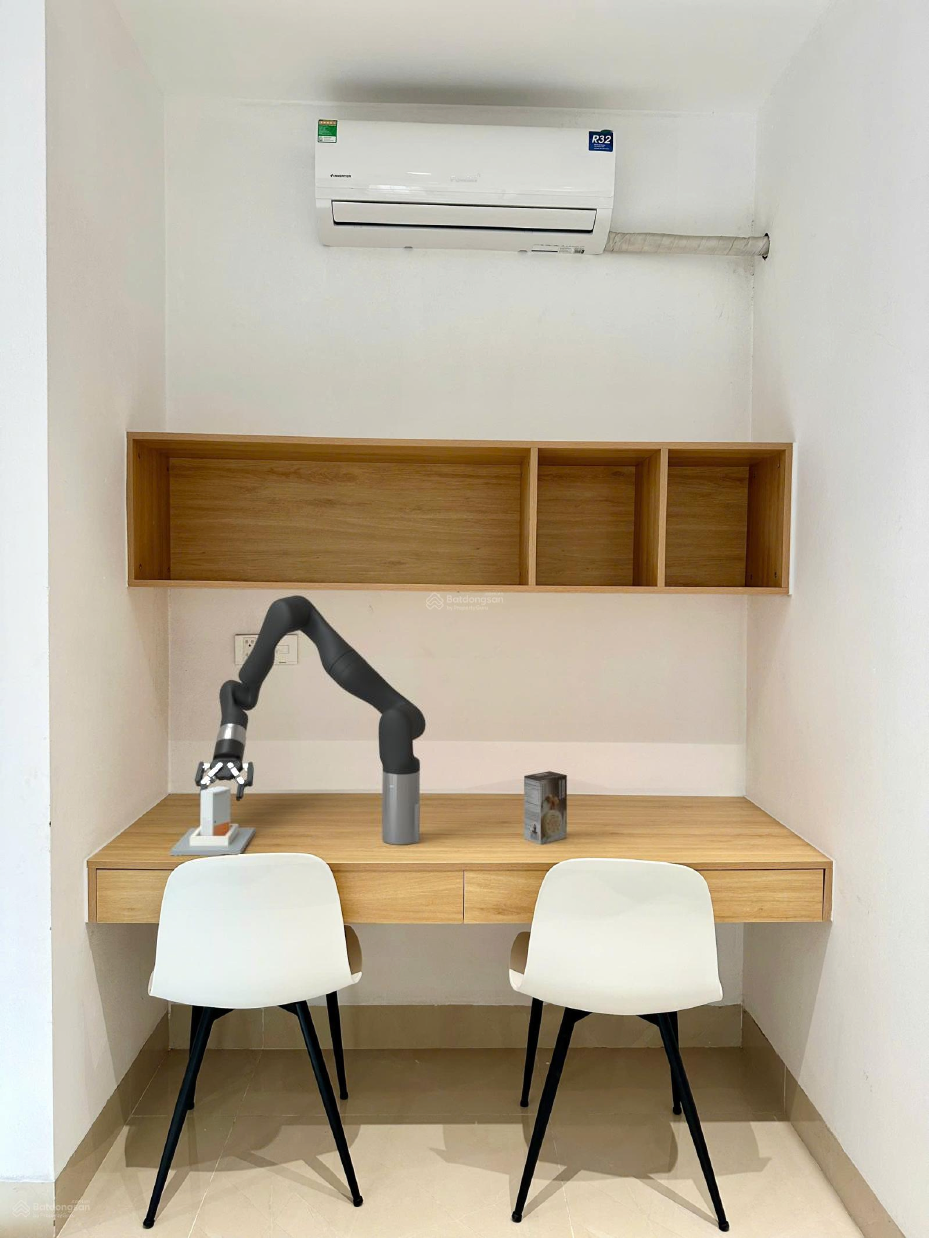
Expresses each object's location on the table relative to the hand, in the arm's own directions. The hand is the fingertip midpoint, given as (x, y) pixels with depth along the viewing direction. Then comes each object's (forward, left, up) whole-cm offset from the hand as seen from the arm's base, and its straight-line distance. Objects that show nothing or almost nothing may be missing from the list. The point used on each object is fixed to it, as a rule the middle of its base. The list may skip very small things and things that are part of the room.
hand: (220, 799), depth 213 cm
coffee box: (-81, +6, -9) cm, 82 cm away
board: (0, +8, -9) cm, 12 cm away
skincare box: (-1, +8, -8) cm, 11 cm away
